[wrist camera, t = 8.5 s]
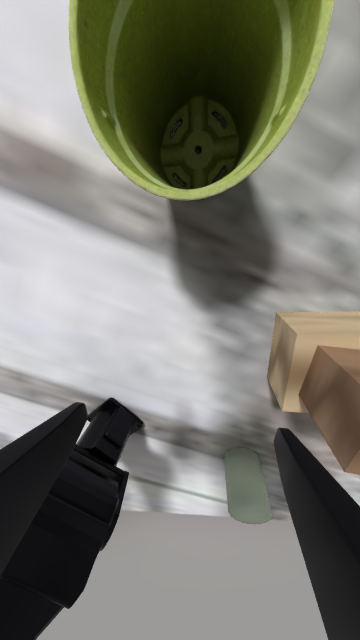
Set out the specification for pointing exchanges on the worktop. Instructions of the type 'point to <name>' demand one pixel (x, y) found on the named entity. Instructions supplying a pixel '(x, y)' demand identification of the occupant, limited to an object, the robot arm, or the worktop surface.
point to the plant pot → (194, 84)
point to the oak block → (305, 349)
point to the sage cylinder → (246, 487)
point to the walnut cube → (336, 401)
